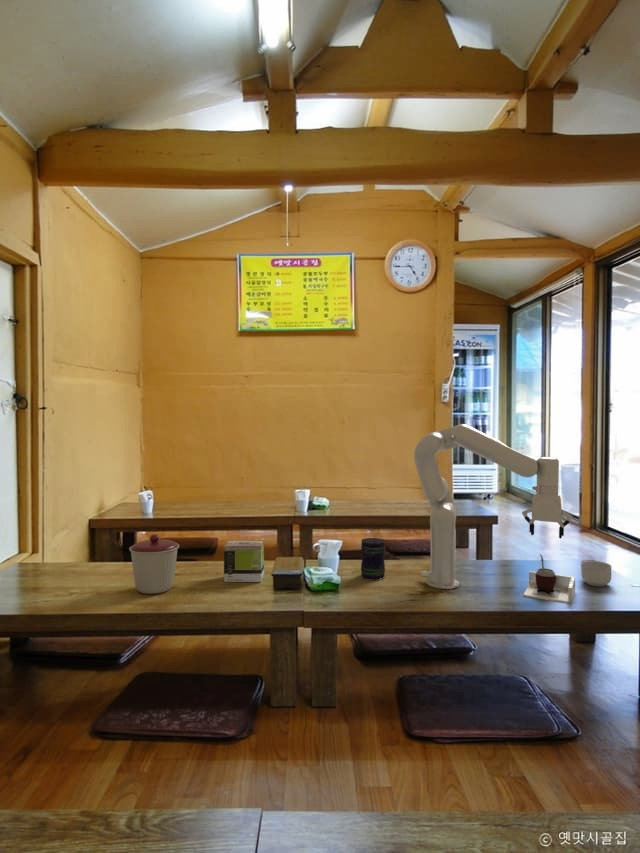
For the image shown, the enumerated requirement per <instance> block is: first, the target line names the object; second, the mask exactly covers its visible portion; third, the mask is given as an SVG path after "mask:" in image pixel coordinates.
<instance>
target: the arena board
mask: <svg viewBox="0 0 640 853" xmlns="http://www.w3.org/2000/svg"><path fill="white" fill-rule="evenodd" d="M537 590H538V588H537V586H536V585H530V584H529V583H528V586H527V588H526V589H525V591H524V593H523V597H527V598H534V599H538V600H547V601H552V602H559V603H564V602H565V604H569V603H568V590H564V589H557V588H554V589H553V590H554V592H549V593H550V594H547V593H546V592H537Z"/></svg>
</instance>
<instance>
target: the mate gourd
mask: <svg viewBox="0 0 640 853" xmlns="http://www.w3.org/2000/svg"><path fill="white" fill-rule="evenodd" d="M539 556H540V558H541V559H540V560H541V568H538V569H537V570H536V571H535V572H536V585H537V588H538V590H537V592H546V593H547V594H550V593H549V592H554V590H553V589H554V585H555V582H556V576H555V574H556V573H555V571H554V570H553V569H550V568H544V566H545V565H544V557H543V555H542V554H539Z"/></svg>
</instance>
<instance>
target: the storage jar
mask: <svg viewBox="0 0 640 853" xmlns="http://www.w3.org/2000/svg"><path fill="white" fill-rule="evenodd" d="M360 547H361V548H360V550H361V552H360V554H361V564H360V566H361V567H360V571H361V572H360V573H361V575H360V577H361V576H362V577H363V578H362V577H361V578H362V579H364V578H365V579H364V580H367V579H380V578H383V577H386V576H385V574H386V573H385V571H386V564H385V556H386V555H385V554H386V540H385V539H383V538H378V537H377V538H376V537H367V538H366V537H365V538H363V539H361V546H360Z"/></svg>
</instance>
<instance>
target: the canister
mask: <svg viewBox="0 0 640 853" xmlns="http://www.w3.org/2000/svg"><path fill="white" fill-rule="evenodd" d="M179 548H180V544H179V543H177V542H176V541H173V540H170V539H160V536H159V535H158V534H156V533H154V534H151V535H150V536H149V539H147V540H141V541H138V542H136V543H134V544H133V545H131V546H130V547H129V548H128V549H129V552H130V554H131V555H130V556H131V563H132V570H133V580H134V584H135V588H136V590H137V592H139V593H141V594H147V595H156V594H162V593H165V592H167V591H169V590H170V589H172V588H173V585H174V581H175V573H176V566H177V556H178V549H179Z"/></svg>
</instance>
